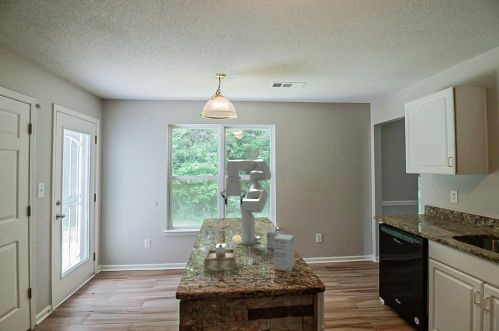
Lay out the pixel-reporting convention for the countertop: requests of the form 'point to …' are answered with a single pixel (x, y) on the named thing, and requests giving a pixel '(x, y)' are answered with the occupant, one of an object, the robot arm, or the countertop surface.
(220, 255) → the block
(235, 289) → the countertop surface
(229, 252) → the tray
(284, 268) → the supplement box
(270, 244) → the light bulb box
